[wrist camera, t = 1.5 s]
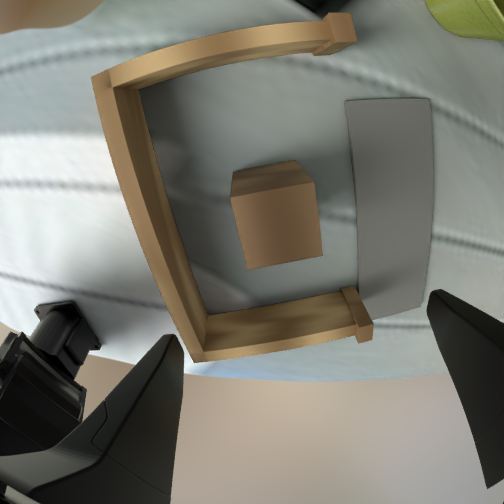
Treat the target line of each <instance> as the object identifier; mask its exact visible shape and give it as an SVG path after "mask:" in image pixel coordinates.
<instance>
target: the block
mask: <svg viewBox="0 0 504 504" xmlns="http://www.w3.org/2000/svg"><path fill="white" fill-rule="evenodd" d="M230 200H231V205H232V209H233V213H234V217H235V221H236V225H237V229H238V234H239V238H240V242H241V246H242V250H243V254H244V258H245V262H246V266H247V270H251V269H256V268H261V267H267V266H272V265H277V264H282V263H288V262H293V261H298V260H303V259H308V258H313V257H318V256H323V254H322V243H321V233H320V224H319V215H318V206H317V198H316V190H315V183H314V181H313V180H312V179H311V178H310V176H309V175H308V174H307V173H306V172H305V171H304V170H303V169H302V167H301V166H300V165H299V164H298V163H297V162H296V161H295V160H293V161H287V162H281V163H276V164H270V165H265V166H260V167H255V168H250V169H245V170H240V171H235V172H233V177H232V185H231V193H230Z"/></svg>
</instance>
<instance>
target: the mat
mask: <svg viewBox="0 0 504 504" xmlns="http://www.w3.org/2000/svg"><path fill="white" fill-rule="evenodd" d="M344 103H345V110H346V116H347V123H348V131H349V139H350V147H351V156H352V166H353V177H354V189H355V203H356V220H357V247H358V294H359V296H360V298H361V300H362V302H363V304H364V306H365V308H366V310H367V312H368V314H369V316H370V318H371V320H375V319H379V318H382V317H386V316H390V315H393V314H397V313H401V312H404V311H407V310H411V309H414V308H418V307H421V303H422V298H423V292H424V286H425V280H426V273H427V266H428V258H429V249H430V239H431V227H432V212H433V185H434V162H433V135H432V121H431V109H430V100H429V99H415V98H401V99H368V100H352V101H344Z"/></svg>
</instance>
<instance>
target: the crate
mask: <svg viewBox="0 0 504 504" xmlns="http://www.w3.org/2000/svg"><path fill="white" fill-rule="evenodd" d="M356 42H357V38H356V33H355V29H354V25H353V21H352V17H351V14H350V13H328V14H327V15H326V16H325V17H324V18H323V19H322V20H321V21H307V22H293V23H282V24H273V25H265V26H258V27H252V28H245V29H240V30H234V31H229V32H224V33H219V34H215V35H210V36H206V37H202V38H198V39H194V40H190V41H187V42H183V43H180V44H176V45H173V46H170V47H166V48H163V49H160V50H157V51H154V52H151V53H148V54H145V55H143V56H140V57H137V58H135V59H132V60H129V61H127V62H124V63H122V64H119V65H117V66H114V67H112V68H110V69H108V70H105V71H103V72H101V73H99V74H96V75H94V76H92V77H91V80H92V85H93V90H94V94H95V99H96V103H97V107H98V111H99V115H100V119H101V123H102V127H103V131H104V135H105V138H106V142H107V145H108V149H109V152H110V156H111V159H112V163H113V166H114V169H115V172H116V176H117V179H118V182H119V185H120V188H121V191H122V194H123V197H124V200H125V203H126V206H127V209H128V212H129V214H130V217H131V220H132V223H133V225H134V228H135V231H136V234H137V236H138V239H139V241H140V244H141V247H142V249H143V252H144V254H145V257H146V259H147V262H148V264H149V267H150V269H151V272H152V274H153V276H154V279H155V281H156V283H157V286H158V288H159V290H160V293H161V295H162V297H163V299H164V302H165V304H166V306H167V308H168V311H169V313H170V315H171V317H172V319H173V321H174V324H175V326H176V328H177V330H178V332H179V334H180V336H181V338H182V340H183V342H184V344H185V346H186V348H187V350H188V352H189V354H190V356H191V358H192V360H193V362H194V363H199V362H208V361H217V360H225V359H232V358H239V357H246V356H253V355H259V354H266V353H272V352H277V351H283V350H288V349H294V348H299V347H304V346H309V345H314V344H319V343H323V342H328V341H332V340H337V339H341V338H345V337H350V336H354V335H355V337H356V339H357V342H358V343H362V342H366V341H370V340H372V336H373V326H374V324H373V322H372V320H371V318H370V316H369V314H368V312H367V310H366V308H365V306H364V304H363V302H362V300H361V298H360V296H359V294H358V293H357V291H356V289H355V287H354V285H353V286H349V287H344V288H341V291H338V292H334V293H329V294H324V295H320V296H315V297H310V298H305V299H300V300H295V301H290V302H284V303H279V304H274V305H268V306H263V307H257V308H251V309H245V310H240V311H234V312H227V313H221V314H215V315H207V312H206V309H205V307H204V304H203V301H202V298H201V296H200V293H199V290H198V287H197V285H196V282H195V279H194V276H193V273H192V271H191V268H190V265H189V262H188V259H187V256H186V253H185V250H184V247H183V244H182V241H181V238H180V235H179V232H178V229H177V226H176V223H175V220H174V217H173V214H172V210H171V207H170V204H169V201H168V197H167V194H166V191H165V187H164V184H163V181H162V177H161V174H160V170H159V167H158V163H157V160H156V156H155V153H154V149H153V145H152V142H151V138H150V134H149V130H148V126H147V123H146V119H145V115H144V111H143V107H142V102H141V98H140V94H139V89H141V88H144V87H147V86H150V85H153V84H156V83H159V82H162V81H165V80H169V79H172V78H175V77H179V76H182V75H186V74H189V73H193V72H197V71H201V70H205V69H209V68H213V67H218V66H222V65H227V64H231V63H236V62H242V61H247V60H253V59H259V58H265V57H272V56H280V55H288V54H297V53H308V52H313V56H321V55H331V54H333V53H335V52H337V51H339V50H341V49H343V48H345V47H347V46H350V45H352V44H354V43H356Z"/></svg>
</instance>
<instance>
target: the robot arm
mask: <svg viewBox="0 0 504 504" xmlns="http://www.w3.org/2000/svg"><path fill="white" fill-rule="evenodd" d="M72 306H73V307H72ZM34 311H35V313H36V315H37V316H38V318H39V319H40V323H39V324H38V326H37V327H36V329H35V330H34V332H33V333H32V335H31V336H30V338H29V339H28V338H27V337H26V335H25V334H24V333H23V332H21V333H20V334H19V335H17V334H15V333H13V332H10V333H9V334H8V336H7V337H6V339H5V340H4V341H3V343H2V345H1V346H0V504H170V501H171V497H170V496H171V487H172V478H173V469H174V460H175V451H176V443H177V434H178V426H179V419H180V411H181V404H182V397H183V376H184V351H183V348H182V346H181V344H180V342H179V340H178V338H177V336H176V335H175V334H166V335H163V336H162V337H161V338H160V339H159V340H158V341H157V342H156V344H155V345H154V346H153V347H152V348H151V349H150V350H149V351H148V352H147V353H146V354H145V355H144V357H143V358H142V359H141V360H140V361H139V362H138V363H137V364H136V365H135V366H134V367H133V368H132V370H131V371H130V372H129V373H128V374H127V375H126V376H125V377H124V378H123V379H122V380H121V382H120V383H119V384H118V385H117V386H116V387H115V388H114V389H113V390H112V391H111V392H110V394H109V395H108V396H107V397H106V398H105V401H102V402H101V403H100V405H99V406H98V407H97V408H96V409H95V410H94V411H93V412H92V413H91V414H90V415H89V416H88V417H87V418H86V419H85V420H84V421H83V422H82V419H83V412H84V405H85V398H86V391H87V389H86V388H84V387H83V386H81V385H79V384H78V383H77V382H76V381H74V379H75V377H76V375H77V373H78V371H79V368H80V366H81V365H83V364H84V361H85V359H86V357H87V355H88V353H89V350H100V348H101V344H100V342H99V341H98V339H97V337H96V336H95V334H94V333H93V331H92V330H91V328H90V326H89V325H88V323H87V322H86V320H85V318H84V317H83V315H82V313H81V312H80V310H79V308H78V306H77V305H76V303H75V302H73V301H68V302H61V303H55V304H48V305H41V306H36V308H35V309H34ZM427 316H428V318H429V321H430V324H431V327H432V330H433V332H434V335H435V338H436V341H437V344H438V347H439V350H440V352H441V354H442V357H443V359H444V361H445V363H446V366H447V368H448V370H449V373H450V375H451V378H452V380H453V383H454V385H455V388H456V390H457V392H458V395H459V398H460V400H461V403H462V406H463V409H464V411H465V414H466V417H467V420H468V423H469V426H470V429H471V432H472V435H473V438H474V442H475V445H476V449H477V452H478V455H479V459H480V463H481V466H482V471H483V475H484V479H485V483H486V487H487V489H488V488H490V487H492V486H493V485H495V484H497V483H498V482H500V481H501V480H503V479H504V323H502V322H500V321H499V320H497V319H495V318H493V317H492V316H490V315H488V314H486V313H485V312H483V311H481V310H479V309H477V308H476V307H474V306H472V305H470V304H468V303H467V302H465V301H463V300H461V299H459V298H457V297H455V296H454V295H452V294H450V293H448V292H446V291H444V290H442V289H438V290H434V291H432V292H431V293H430V296H429V301H428V305H427ZM503 504H504V502H503Z"/></svg>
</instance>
